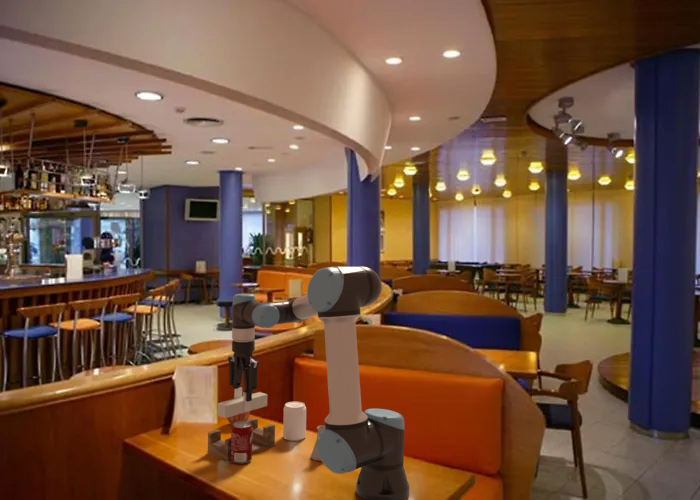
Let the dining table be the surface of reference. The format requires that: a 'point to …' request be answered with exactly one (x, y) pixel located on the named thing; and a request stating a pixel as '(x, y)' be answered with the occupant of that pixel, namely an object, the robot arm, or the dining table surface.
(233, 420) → the fruit
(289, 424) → the beverage can
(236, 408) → the white rectangular bar
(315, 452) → the flask
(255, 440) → the rack
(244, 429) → the soda can
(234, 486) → the dining table surface
